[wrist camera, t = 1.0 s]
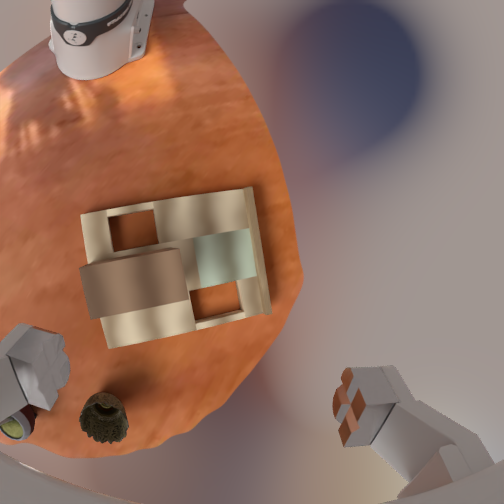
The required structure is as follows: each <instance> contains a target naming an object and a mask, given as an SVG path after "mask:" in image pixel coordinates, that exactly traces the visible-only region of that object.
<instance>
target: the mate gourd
mask: <svg viewBox="0 0 504 504" xmlns="http://www.w3.org/2000/svg"><path fill="white" fill-rule="evenodd" d="M27 404H28V405H26V406H25V407H23V408H22V409H20V410H18V411H17V412H15V413H14V414H12V415H11V416H9V417H7V418H6V419H4V420H3V421H1V422H0V430H1V432H2V433H3V434H4V435H5V436H7V437H8V438H10V439H12V440H17V441H20V440H24V439H27V438H28V437H29V436H30V434H31V433H32V432H33V430H34V425H35V418H36V417H37V415H36V414H35V413H34V412H33V410H32V408H31V407H30V405H29V403H27Z"/></svg>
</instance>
